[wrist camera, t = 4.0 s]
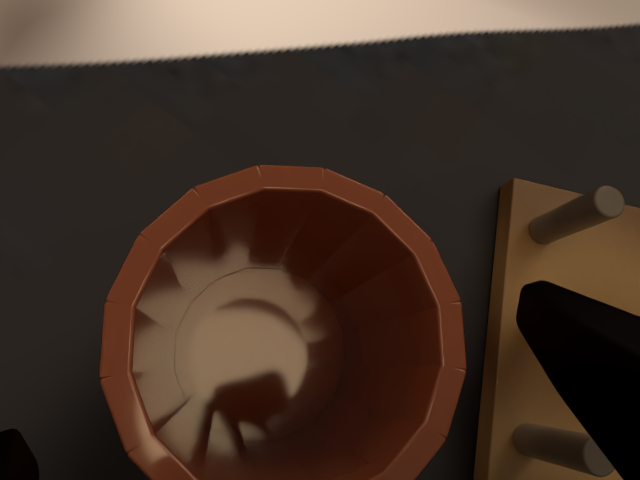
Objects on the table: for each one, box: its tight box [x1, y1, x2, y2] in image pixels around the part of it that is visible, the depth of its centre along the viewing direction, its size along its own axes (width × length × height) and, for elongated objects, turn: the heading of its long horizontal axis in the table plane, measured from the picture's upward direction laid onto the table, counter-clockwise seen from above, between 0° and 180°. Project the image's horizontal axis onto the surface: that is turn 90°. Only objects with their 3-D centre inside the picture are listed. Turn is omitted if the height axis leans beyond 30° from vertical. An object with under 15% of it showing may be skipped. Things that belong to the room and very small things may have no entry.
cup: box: [99, 165, 466, 480], centre depth 13 cm, size 6×6×8 cm
